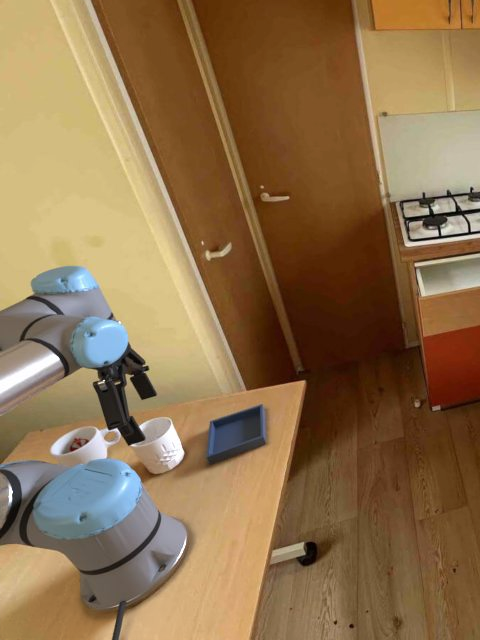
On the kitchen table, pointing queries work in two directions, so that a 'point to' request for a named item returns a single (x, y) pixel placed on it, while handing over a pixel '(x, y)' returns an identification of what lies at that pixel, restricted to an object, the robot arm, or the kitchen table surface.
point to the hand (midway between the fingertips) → (143, 418)
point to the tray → (236, 433)
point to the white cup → (159, 446)
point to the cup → (82, 446)
